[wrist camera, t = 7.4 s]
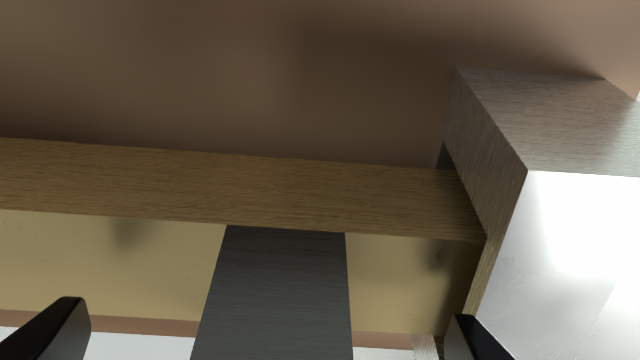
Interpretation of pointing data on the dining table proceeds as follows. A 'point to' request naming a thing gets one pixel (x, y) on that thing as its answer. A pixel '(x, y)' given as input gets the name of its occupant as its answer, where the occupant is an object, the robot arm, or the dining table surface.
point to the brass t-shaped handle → (237, 244)
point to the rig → (548, 212)
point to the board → (282, 79)
